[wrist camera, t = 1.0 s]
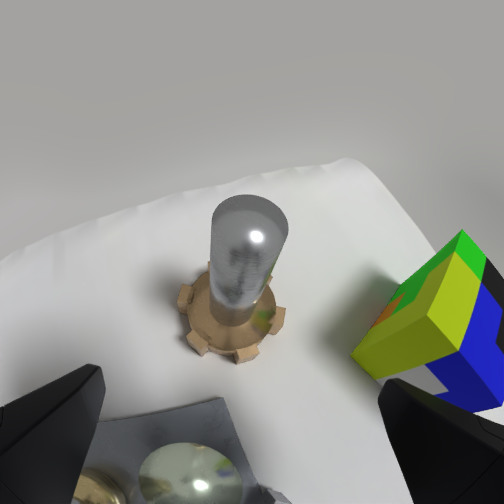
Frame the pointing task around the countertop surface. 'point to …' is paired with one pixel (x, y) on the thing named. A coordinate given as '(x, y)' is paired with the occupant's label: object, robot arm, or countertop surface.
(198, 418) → the carrier plate
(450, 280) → the puzzle toy
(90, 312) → the countertop surface
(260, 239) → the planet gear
